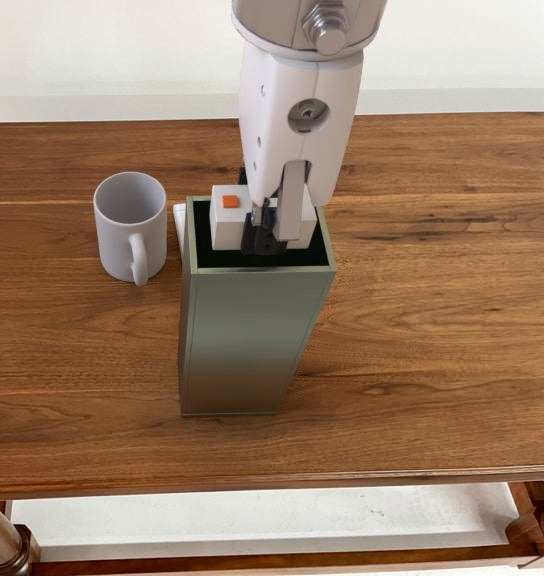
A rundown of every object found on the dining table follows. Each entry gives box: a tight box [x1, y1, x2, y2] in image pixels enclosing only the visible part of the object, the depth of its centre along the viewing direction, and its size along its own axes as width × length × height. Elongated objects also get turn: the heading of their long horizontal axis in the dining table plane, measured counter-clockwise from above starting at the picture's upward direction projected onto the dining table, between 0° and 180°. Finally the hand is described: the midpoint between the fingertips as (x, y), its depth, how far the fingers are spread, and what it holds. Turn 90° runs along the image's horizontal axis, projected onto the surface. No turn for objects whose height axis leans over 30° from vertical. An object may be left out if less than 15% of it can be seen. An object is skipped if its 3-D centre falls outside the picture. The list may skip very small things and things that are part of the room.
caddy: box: [177, 195, 338, 418], centre depth 56 cm, size 10×8×27 cm
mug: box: [93, 171, 168, 287], centre depth 72 cm, size 12×8×11 cm
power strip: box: [210, 183, 317, 250], centre depth 44 cm, size 4×7×4 cm, turn 91°
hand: (259, 227), depth 45 cm, fingers closed on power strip, 3 cm apart
